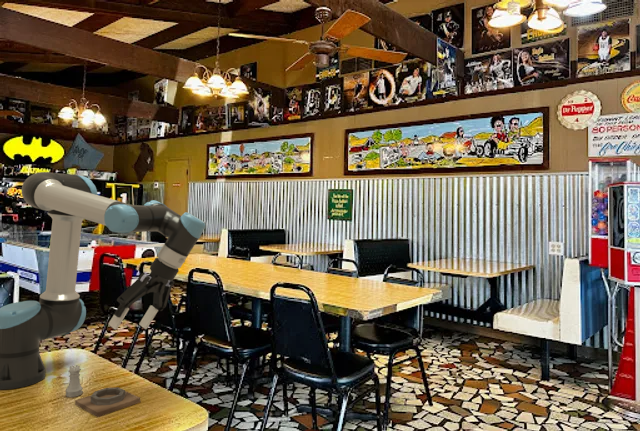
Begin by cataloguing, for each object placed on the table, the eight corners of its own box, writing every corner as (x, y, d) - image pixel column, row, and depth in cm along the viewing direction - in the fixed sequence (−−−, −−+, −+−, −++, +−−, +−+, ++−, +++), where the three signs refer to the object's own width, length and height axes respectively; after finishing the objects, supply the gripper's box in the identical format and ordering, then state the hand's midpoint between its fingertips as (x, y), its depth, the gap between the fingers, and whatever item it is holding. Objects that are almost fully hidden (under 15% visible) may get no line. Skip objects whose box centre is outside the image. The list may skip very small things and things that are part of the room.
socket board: (75, 404, 123) (75, 394, 123) (117, 391, 133) (117, 381, 133) (97, 417, 116) (97, 406, 116) (140, 402, 126) (140, 392, 126)
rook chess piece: (75, 398, 127) (75, 370, 127) (61, 396, 128) (61, 368, 128) (86, 392, 132) (86, 365, 132) (73, 390, 133) (73, 363, 132)
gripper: (151, 264, 119) (107, 334, 117) (198, 274, 142) (162, 333, 141) (132, 249, 121) (88, 319, 120) (181, 262, 145) (145, 320, 143)
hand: (128, 326), depth 130 cm, fingers open, 13 cm apart
